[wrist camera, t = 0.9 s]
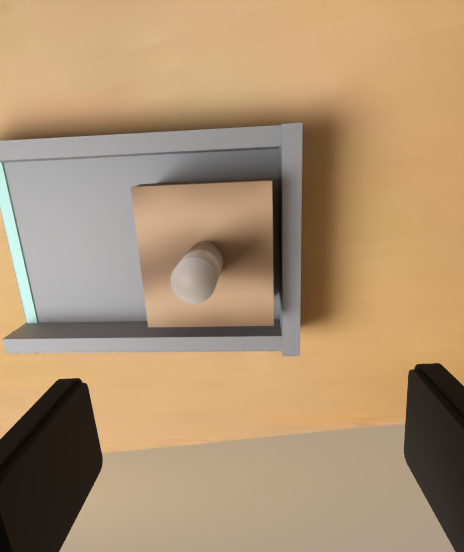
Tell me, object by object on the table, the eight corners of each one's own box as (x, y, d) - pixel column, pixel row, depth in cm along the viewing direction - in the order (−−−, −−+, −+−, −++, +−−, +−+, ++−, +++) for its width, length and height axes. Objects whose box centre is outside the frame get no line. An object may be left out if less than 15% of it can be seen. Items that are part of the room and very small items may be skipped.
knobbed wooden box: (153, 182, 34) (95, 190, 22) (270, 177, 33) (278, 182, 21) (166, 300, 38) (122, 364, 25) (271, 297, 37) (279, 363, 25)
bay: (-8, 146, 35) (-59, 142, 30) (294, 130, 33) (302, 122, 27) (34, 331, 41) (-1, 358, 36) (293, 328, 39) (299, 356, 33)
